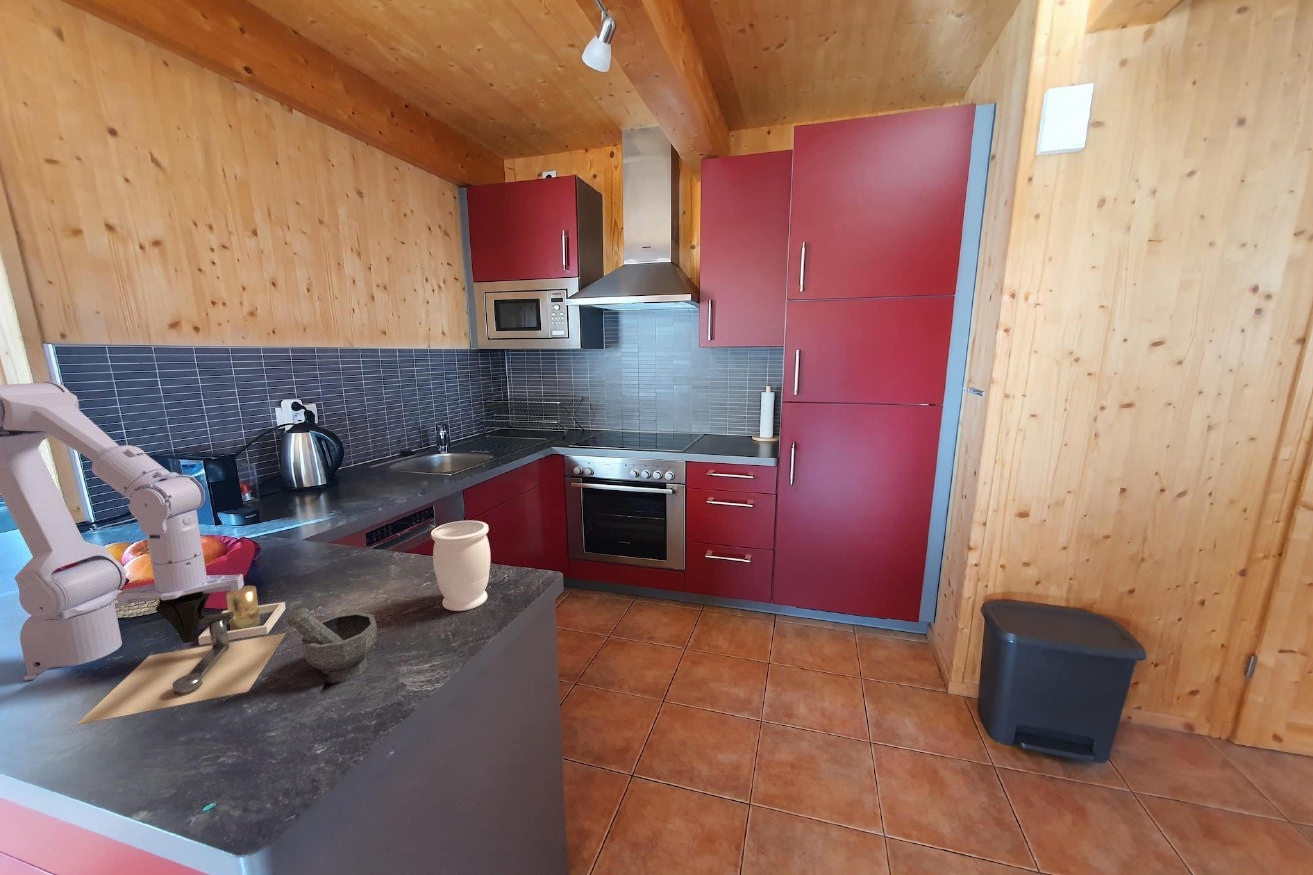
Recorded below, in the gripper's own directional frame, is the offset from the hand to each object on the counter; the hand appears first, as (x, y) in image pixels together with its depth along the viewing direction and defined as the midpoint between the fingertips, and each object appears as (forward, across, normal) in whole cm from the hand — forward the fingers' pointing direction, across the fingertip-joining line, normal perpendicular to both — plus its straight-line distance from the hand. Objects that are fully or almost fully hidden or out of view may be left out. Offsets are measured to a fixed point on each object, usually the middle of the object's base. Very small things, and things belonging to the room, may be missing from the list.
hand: (191, 639), depth 78 cm
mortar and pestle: (+4, +22, -11) cm, 25 cm away
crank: (+3, +3, -5) cm, 7 cm away
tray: (+4, +4, +8) cm, 10 cm away
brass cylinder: (+3, +4, +8) cm, 10 cm away
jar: (+4, +40, +6) cm, 41 cm away
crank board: (+4, +2, -6) cm, 7 cm away
